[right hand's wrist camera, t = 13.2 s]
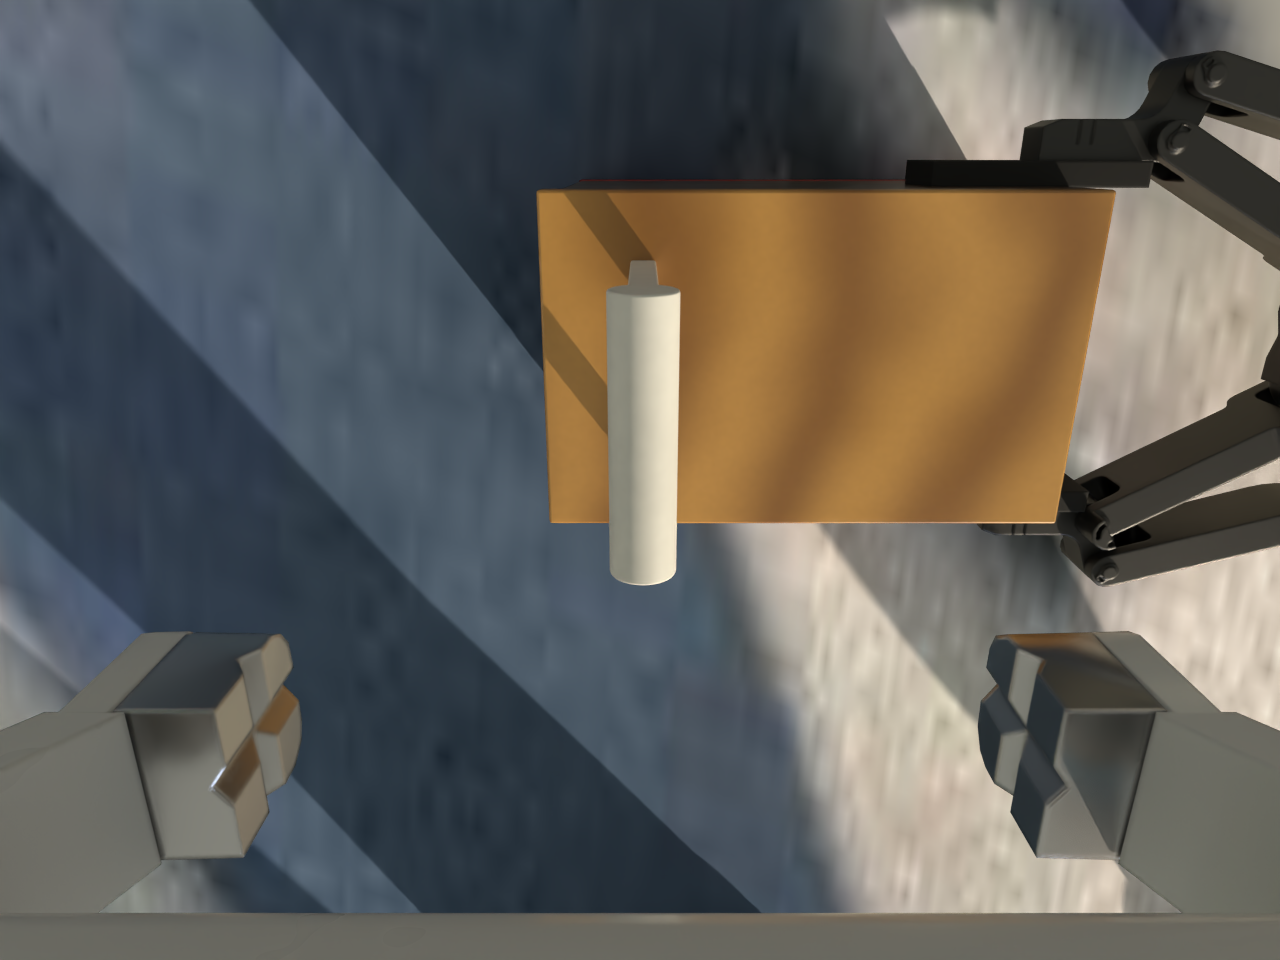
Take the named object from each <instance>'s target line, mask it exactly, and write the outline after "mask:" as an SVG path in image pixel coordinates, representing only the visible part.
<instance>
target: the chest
mask: <svg viewBox="0 0 1280 960" xmlns="http://www.w3.org/2000/svg"><path fill="white" fill-rule="evenodd" d="M563 189H1094V188H1081V187H930V186H920V185H911V184H905V180H580V181H579V182H578V183H575V184H573V185H571V186H568V187H566V188H563Z"/></svg>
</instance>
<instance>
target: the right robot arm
mask: <svg viewBox="0 0 1280 960" xmlns="http://www.w3.org/2000/svg"><path fill="white" fill-rule="evenodd" d="M293 668H294V667H293V662H292V657H291V652H290V647H289V642H288V641H287V640H286V639H285V638H284V637H283V636H282V635H281V634H267V633H215V632H195V633H193V632H190V631H183V632H151V633H145V634H141V635H140V636H139V637H138V638H137V639H136V640H135V641H134V642H133V643H131V644H130V645H129V646H128V647H127V648H126V649H125V650H124V651H123V652H122V653H121V654H120V655H119V656H118V657H117V658H116V659H115V660H113V661H112V662H111V663H110V664H109V665H108V666H107V667H106V668H105V669H104V670H103V671H102V672H101V673H100V674H99V675H98V676H97V677H95V678H94V679H93V680H92V681H91V682H90V683H89V684H88V685H87V686H86V687H85V688H84V689H83V690H82V691H81V692H80V693H78V694H77V695H76V696H75V697H74V698H73V699H72V700H71V701H70V702H69V703H68V704H67V705H66V706H65V707H64V708H63V709H62V710H60V711H59V712H43V713H41V714H39V715H36V716H34V717H32V718H29V719H27V720H25V721H22V722H20V723H18V724H15V725H13V726H11V727H8V728H6V729H3V730H1V731H0V960H1280V731H1279V730H1276V729H1274V728H1272V727H1269V726H1267V725H1265V724H1262V723H1260V722H1258V721H1255V720H1253V719H1251V718H1248V717H1246V716H1244V715H1241V714H1239V713H1237V712H1221V711H1220V710H1219V709H1217V708H1216V707H1215V706H1214V705H1213V704H1212V703H1211V702H1210V701H1209V700H1208V699H1207V698H1206V697H1205V696H1204V695H1203V694H1202V693H1201V692H1200V691H1198V690H1197V689H1196V688H1195V687H1194V686H1193V685H1192V684H1191V683H1190V682H1189V681H1188V680H1187V679H1186V678H1185V677H1184V676H1183V675H1182V674H1180V673H1179V672H1178V671H1177V670H1176V669H1175V668H1174V667H1173V666H1172V665H1171V664H1170V663H1169V662H1168V661H1167V660H1166V659H1165V658H1164V657H1163V656H1161V655H1160V654H1159V653H1158V652H1157V651H1156V650H1155V649H1154V648H1153V647H1152V646H1151V645H1150V644H1149V643H1148V642H1147V641H1146V640H1145V639H1144V638H1142V637H1141V636H1140V635H1138V634H1135V633H1132V632H1129V631H1118V632H1093V633H1092V632H1087V633H1047V634H1007V635H997V636H995V638H994V641H993V643H992V645H991V647H990V650H989V656H988V661H987V667H986V668H987V669H988V671H989V672H990V674H991V675H992V677H993V678H994V680H995V682H996V683H997V685H996V686H995V687H994V688H993V689H992V690H991V691H990V692H989V693H988V694H987V695H986V696H985V697H984V698H983V699H982V700H981V705H980V713H979V721H978V733H979V743H980V751H981V754H982V758H983V761H984V764H985V767H986V769H987V771H988V773H989V775H990V776H991V778H992V780H993V782H994V784H996V785H997V786H999V787H1001V788H1002V789H1004V790H1005V791H1007V792H1008V793H1010V794H1011V795H1013V800H1012V806H1011V814H1012V816H1013V817H1014V819H1015V821H1016V823H1017V824H1018V826H1019V828H1020V830H1021V831H1022V833H1023V835H1024V837H1025V838H1026V840H1027V842H1028V843H1029V845H1030V847H1031V849H1032V850H1033V852H1034V854H1035V856H1036V857H1037V858H1064V859H1101V860H1119V863H1118V864H1120V865H1121V866H1122V867H1123V868H1125V869H1126V870H1127V871H1129V872H1130V873H1131V874H1133V875H1134V876H1135V877H1136V878H1138V879H1139V880H1140V881H1142V882H1143V883H1144V884H1146V885H1147V886H1148V887H1149V888H1151V889H1152V890H1153V891H1155V892H1156V893H1157V894H1159V895H1160V896H1161V897H1162V898H1164V899H1165V900H1166V901H1168V902H1169V903H1170V904H1172V905H1173V906H1174V907H1175V908H1177V909H1178V910H1179V911H1181V912H1182V913H98V912H100V911H101V910H102V909H103V908H105V907H106V906H107V905H109V904H110V903H111V902H113V901H114V900H115V899H117V898H118V897H119V896H120V895H122V894H123V893H124V892H126V891H127V890H128V889H130V888H131V887H132V886H133V885H135V884H136V883H137V882H139V881H140V880H141V879H143V878H144V877H145V876H146V875H148V874H149V873H150V872H152V871H153V870H154V869H156V868H157V867H158V866H160V865H161V860H179V859H214V858H244V856H245V854H246V852H247V851H248V849H249V847H250V845H251V844H252V842H253V840H254V838H255V837H256V835H257V833H258V831H259V830H260V828H261V826H262V824H263V823H264V821H265V819H266V817H267V816H268V814H269V806H268V800H267V795H269V794H270V793H272V792H273V791H275V790H276V789H278V788H279V787H281V786H283V785H284V784H286V782H287V780H288V778H289V776H290V775H291V773H292V771H293V769H294V767H295V765H296V761H297V757H298V753H299V748H300V744H301V739H302V717H301V711H300V704H299V700H298V699H297V698H296V697H295V696H294V695H293V694H292V693H291V692H290V691H289V690H288V689H287V688H286V687H285V686H284V685H283V683H284V682H285V680H286V678H287V677H288V675H289V674H290V672H291V671H292V669H293Z"/></svg>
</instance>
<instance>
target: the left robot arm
mask: <svg viewBox="0 0 1280 960" xmlns="http://www.w3.org/2000/svg"><path fill="white" fill-rule="evenodd" d="M1148 90H1149V93H1148V95H1147V97H1146V99H1145V101H1144V102H1143V104H1142V105H1141V107H1140V109H1139V110H1138V111H1137V112H1136V113H1135V114H1133V115H1132V116H1130V117H1129V118H1126V119H1057V120H1045V121H1040V122H1037V123H1035V124H1032V125H1030V126H1027V127H1025V128H1024V135H1023V141H1022V148H1021V155H1020V160H907V167H906V176H905V184H911V185H920V186H930V187H1081V188H1149V183H1150V179H1152V180H1153V181H1155V182H1156V183H1158V184H1159V185H1161V186H1162V187H1164V188H1165V189H1167V190H1168V191H1170V192H1171V193H1173V194H1174V195H1175V196H1177V197H1178V198H1180V199H1181V200H1183V201H1184V202H1186V203H1187V204H1189V205H1190V206H1192V207H1193V208H1195V209H1196V210H1198V211H1199V212H1201V213H1202V214H1204V215H1205V216H1207V217H1208V218H1210V219H1211V220H1213V221H1214V222H1216V223H1217V224H1219V225H1220V226H1222V227H1223V228H1225V229H1226V230H1228V231H1229V232H1230V233H1232V234H1233V235H1235V236H1236V237H1238V238H1239V239H1241V240H1242V241H1244V242H1245V243H1247V244H1248V245H1250V246H1251V247H1253V248H1254V249H1256V250H1257V251H1259V252H1260V253H1262V254H1263V255H1264V257H1263V259H1264V260H1265V261H1266V262H1268V263H1269V264H1271V265H1272V266H1274V267H1275V268H1277V269H1278V270H1279V271H1280V183H1279V182H1278V181H1277V180H1275V179H1274V178H1272V177H1271V176H1269V175H1268V174H1267V173H1265V172H1264V171H1262V170H1261V169H1259V168H1258V167H1256V166H1255V165H1254V164H1252V163H1251V162H1249V161H1248V160H1246V159H1245V158H1243V157H1242V156H1241V155H1239V154H1238V153H1236V152H1235V151H1233V150H1232V149H1231V148H1229V147H1228V146H1226V145H1225V144H1223V143H1222V142H1220V141H1219V140H1218V139H1216V138H1215V137H1213V136H1212V135H1210V134H1209V133H1207V132H1206V131H1205V130H1203V129H1202V128H1200V127H1199V124H1200V122H1201V120H1202V118H1203V116H1207V117H1210V118H1214V119H1217V120H1220V121H1223V122H1226V123H1229V124H1232V125H1235V126H1238V127H1241V128H1244V129H1248V130H1251V131H1254V132H1257V133H1260V134H1263V135H1266V136H1269V137H1272V138H1275V139H1278V140H1280V69H1277V68H1274V67H1271V66H1268V65H1265V64H1262V63H1259V62H1256V61H1253V60H1250V59H1247V58H1244V57H1241V56H1238V55H1235V54H1232V53H1229V52H1226V51H1212V52H1207V53H1201V54H1196V55H1190V56H1185V57H1179V58H1174V59H1169V60H1166V61H1163V62H1161V63H1159V64H1158V65H1157V66H1156V67H1155V68H1154V69H1153V71H1152V72H1151V74H1150V76H1149V80H1148ZM1261 379H1262V380H1265V381H1264V382H1262V383H1260V384H1258V385H1256V386H1254V387H1252V388H1250V389H1247V390H1245V391H1243V392H1241V393H1239V394H1237V395H1235V396H1233V397H1232V398H1230V399H1229V400H1228V401H1227V406H1226V407H1225V408H1224V409H1222V410H1220V411H1218V412H1216V413H1214V414H1212V415H1210V416H1208V417H1206V418H1203V419H1201V420H1199V421H1197V422H1195V423H1193V424H1191V425H1189V426H1187V427H1185V428H1183V429H1180V430H1178V431H1176V432H1174V433H1172V434H1170V435H1168V436H1166V437H1164V438H1162V439H1159V440H1157V441H1155V442H1153V443H1151V444H1149V445H1147V446H1145V447H1143V448H1141V449H1139V450H1136V451H1134V452H1132V453H1130V454H1128V455H1126V456H1124V457H1122V458H1120V459H1118V460H1115V461H1113V462H1111V463H1109V464H1107V465H1105V466H1103V467H1101V468H1099V469H1097V470H1095V471H1092V472H1090V473H1088V474H1086V475H1084V476H1082V477H1080V478H1078V479H1076V480H1073V479H1072V478H1070V477H1069V476H1068V475H1066V474H1065V473H1064V478H1063V483H1062V488H1061V494H1060V499H1059V505H1058V510H1057V516H1056V521H1055V523H976V524H977V525H978V526H979V527H980V528H981V529H982V530H984V531H986V532H989V533H991V534H994V535H1011V534H1012V535H1022V534H1024V535H1062V536H1063V538H1062V540H1061V543H1060V548H1061V551H1062V553H1064V554H1065V555H1066V556H1067V557H1068V558H1069V559H1070V560H1071V561H1072V562H1073V563H1074V564H1075V565H1076V566H1077V567H1078V568H1079V569H1080V570H1081V571H1082V572H1083V573H1084V574H1085V575H1087V576H1088V577H1089V578H1090V579H1091V580H1092V581H1093V582H1094V583H1095V584H1097V585H1099V586H1102V587H1108V586H1114V585H1118V584H1122V583H1126V582H1131V581H1135V580H1139V579H1143V578H1148V577H1152V576H1156V575H1160V574H1165V573H1169V572H1173V571H1177V570H1182V569H1186V568H1190V567H1194V566H1199V565H1203V564H1207V563H1211V562H1216V561H1220V560H1224V559H1228V558H1233V557H1237V556H1241V555H1245V554H1250V553H1254V552H1258V551H1262V550H1267V549H1271V548H1275V547H1279V546H1280V483H1272V484H1261V485H1256V486H1251V487H1246V488H1242V489H1238V490H1234V491H1230V492H1226V493H1221V494H1217V495H1213V496H1209V497H1205V498H1201V499H1197V500H1193V501H1189V500H1191V499H1193V498H1195V497H1197V496H1199V495H1202V494H1204V493H1206V492H1208V491H1210V490H1212V489H1215V488H1217V487H1219V486H1221V485H1223V484H1225V483H1228V482H1230V481H1232V480H1234V479H1236V478H1238V477H1241V476H1243V475H1245V474H1247V473H1249V472H1251V471H1254V470H1256V469H1258V468H1260V467H1262V466H1264V465H1267V464H1269V463H1271V462H1273V461H1275V460H1277V459H1280V307H1279V311H1278V336H1277V338H1276V340H1275V342H1274V344H1273V346H1272V348H1271V350H1270V352H1269V353H1268V355H1267V357H1266V361H1265V365H1264V368H1263V372H1262V376H1261ZM1186 501H1188V502H1186Z"/></svg>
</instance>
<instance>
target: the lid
mask: <svg viewBox="0 0 1280 960" xmlns="http://www.w3.org/2000/svg"><path fill="white" fill-rule="evenodd" d="M1115 194H1116V192H1115V191H1114V190H1108V189H541V190H538V191H537V193H536V197H537V221H538V246H539V271H540V296H541V321H542V345H543V370H544V395H545V420H546V445H547V469H548V494H549V519H550V522H551V523H609V537H610V572H611V574H612V575H613V576H614V577H615V578H616V579H618V580H619V581H622V582H625V583H628V584H634V585H652V584H658V583H661V582H664V581H667V580H668V579H670V578H671V577H672V576H673V575H674V574H675V571H676V534H677V523H1055V521H1056V516H1057V510H1058V505H1059V499H1060V494H1061V488H1062V483H1063V478H1064V472H1065V467H1066V461H1067V456H1068V450H1069V445H1070V439H1071V434H1072V429H1073V423H1074V418H1075V412H1076V407H1077V401H1078V396H1079V390H1080V385H1081V379H1082V374H1083V369H1084V363H1085V358H1086V352H1087V347H1088V341H1089V336H1090V330H1091V325H1092V320H1093V314H1094V309H1095V303H1096V298H1097V292H1098V287H1099V281H1100V276H1101V271H1102V265H1103V260H1104V254H1105V249H1106V243H1107V238H1108V232H1109V227H1110V222H1111V216H1112V211H1113V205H1114V200H1115Z"/></svg>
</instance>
